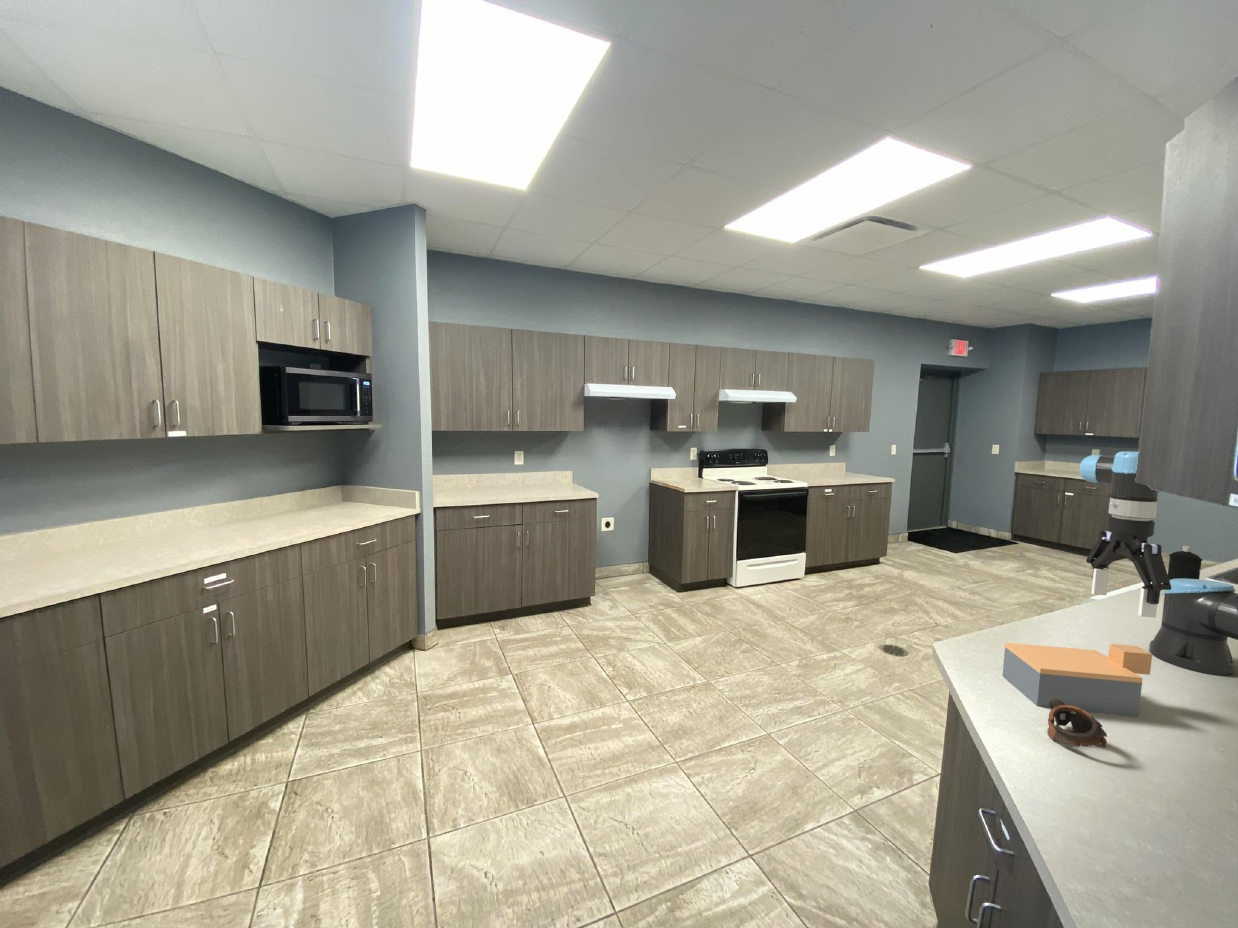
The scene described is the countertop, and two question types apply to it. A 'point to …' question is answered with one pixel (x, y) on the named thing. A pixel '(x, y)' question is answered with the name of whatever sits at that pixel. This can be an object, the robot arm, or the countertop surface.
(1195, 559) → the aerosol can
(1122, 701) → the tub
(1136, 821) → the countertop surface
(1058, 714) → the brown jagged ring
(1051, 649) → the lid
